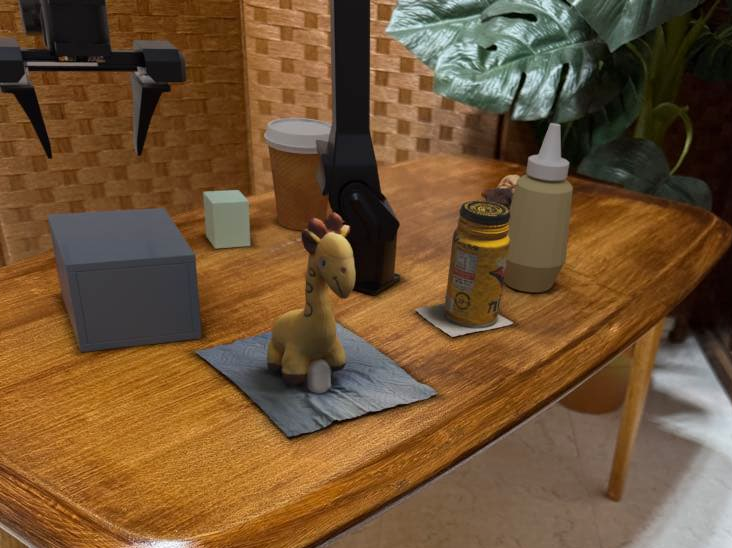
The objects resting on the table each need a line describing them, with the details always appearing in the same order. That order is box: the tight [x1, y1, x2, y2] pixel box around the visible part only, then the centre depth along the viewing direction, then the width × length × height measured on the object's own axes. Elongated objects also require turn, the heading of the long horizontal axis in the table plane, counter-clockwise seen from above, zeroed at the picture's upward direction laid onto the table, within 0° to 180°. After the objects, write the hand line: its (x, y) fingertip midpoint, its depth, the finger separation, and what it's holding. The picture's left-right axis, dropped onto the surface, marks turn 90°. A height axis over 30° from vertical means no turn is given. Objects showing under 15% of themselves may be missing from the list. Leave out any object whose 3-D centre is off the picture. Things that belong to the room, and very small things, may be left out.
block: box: [202, 189, 251, 250], centre depth 105 cm, size 4×4×6 cm
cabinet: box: [47, 207, 202, 353], centre depth 85 cm, size 14×12×9 cm
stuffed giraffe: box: [194, 212, 438, 438], centre depth 76 cm, size 16×18×16 cm
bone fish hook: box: [480, 174, 521, 210], centre depth 123 cm, size 9×5×18 cm
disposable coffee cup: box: [263, 117, 332, 231], centre depth 110 cm, size 10×10×12 cm
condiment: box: [414, 200, 514, 338], centre depth 90 cm, size 7×8×12 cm
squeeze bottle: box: [503, 122, 574, 293], centre depth 97 cm, size 8×8×18 cm
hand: (94, 156), depth 86 cm, fingers open, 8 cm apart
